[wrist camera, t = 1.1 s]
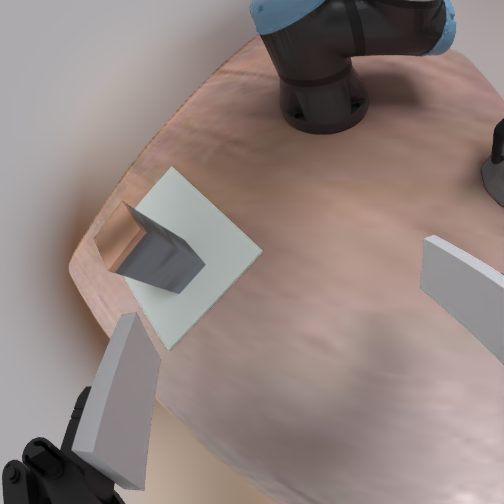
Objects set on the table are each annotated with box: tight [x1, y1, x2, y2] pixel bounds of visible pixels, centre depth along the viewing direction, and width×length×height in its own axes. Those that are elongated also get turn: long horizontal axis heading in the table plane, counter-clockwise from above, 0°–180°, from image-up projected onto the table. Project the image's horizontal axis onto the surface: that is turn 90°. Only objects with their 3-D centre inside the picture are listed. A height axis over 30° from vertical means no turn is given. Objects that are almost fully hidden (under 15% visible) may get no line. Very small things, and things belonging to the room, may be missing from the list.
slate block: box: [93, 201, 206, 294], centre depth 35 cm, size 6×6×14 cm
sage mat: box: [124, 167, 264, 350], centre depth 44 cm, size 26×20×1 cm
